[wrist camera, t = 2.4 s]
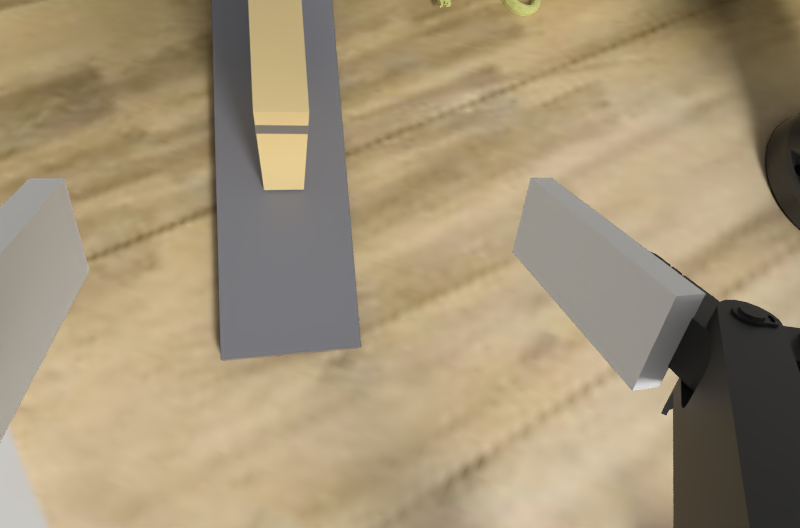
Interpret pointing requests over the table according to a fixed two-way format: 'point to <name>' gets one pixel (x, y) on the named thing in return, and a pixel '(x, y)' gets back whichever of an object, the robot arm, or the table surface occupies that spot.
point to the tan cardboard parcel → (279, 91)
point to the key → (509, 6)
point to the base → (281, 206)
